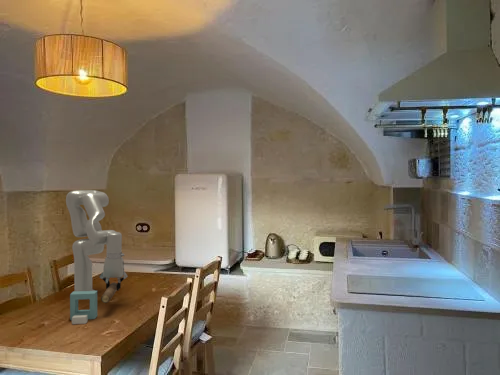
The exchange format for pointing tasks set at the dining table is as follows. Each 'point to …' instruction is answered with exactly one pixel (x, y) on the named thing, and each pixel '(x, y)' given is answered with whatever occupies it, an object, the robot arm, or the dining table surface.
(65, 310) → the dining table surface
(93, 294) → the teal square frame
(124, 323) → the dining table surface
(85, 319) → the block
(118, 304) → the dining table surface
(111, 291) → the dowel
